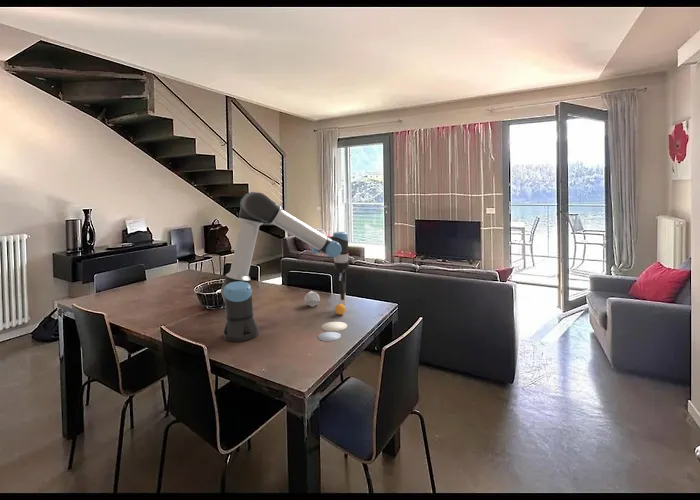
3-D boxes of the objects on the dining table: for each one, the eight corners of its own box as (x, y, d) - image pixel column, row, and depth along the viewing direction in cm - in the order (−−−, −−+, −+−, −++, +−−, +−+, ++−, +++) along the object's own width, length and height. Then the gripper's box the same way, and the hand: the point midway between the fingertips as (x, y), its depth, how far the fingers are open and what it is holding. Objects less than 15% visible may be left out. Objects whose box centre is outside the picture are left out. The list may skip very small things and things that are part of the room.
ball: (334, 316, 193) (333, 305, 193) (335, 312, 199) (335, 302, 198) (344, 316, 193) (344, 305, 192) (346, 312, 198) (346, 302, 197)
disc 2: (315, 340, 163) (315, 340, 163) (320, 331, 173) (320, 331, 173) (338, 341, 162) (338, 340, 162) (342, 332, 172) (342, 332, 172)
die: (323, 307, 211) (321, 290, 215) (314, 303, 204) (313, 286, 209) (311, 310, 214) (309, 294, 219) (302, 307, 207) (300, 290, 212)
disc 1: (319, 331, 174) (319, 330, 174) (324, 321, 186) (324, 321, 186) (345, 331, 172) (345, 331, 172) (348, 322, 184) (348, 321, 184)
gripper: (346, 264, 194) (348, 308, 198) (350, 259, 207) (351, 301, 211) (332, 264, 195) (334, 308, 199) (336, 259, 208) (338, 301, 212)
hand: (343, 304), depth 205 cm, fingers closed
